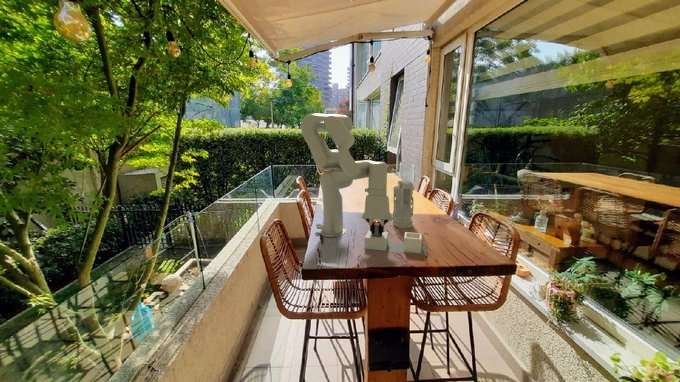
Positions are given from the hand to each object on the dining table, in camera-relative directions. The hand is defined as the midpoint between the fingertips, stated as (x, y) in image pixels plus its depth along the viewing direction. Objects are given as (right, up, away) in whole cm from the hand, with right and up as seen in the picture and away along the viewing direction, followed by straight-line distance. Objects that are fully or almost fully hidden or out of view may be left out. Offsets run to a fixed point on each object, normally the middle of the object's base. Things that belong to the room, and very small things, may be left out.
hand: (376, 233), depth 114 cm
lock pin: (0, -6, +1) cm, 6 cm away
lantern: (+18, -1, +28) cm, 33 cm away
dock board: (+7, -7, -1) cm, 10 cm away
